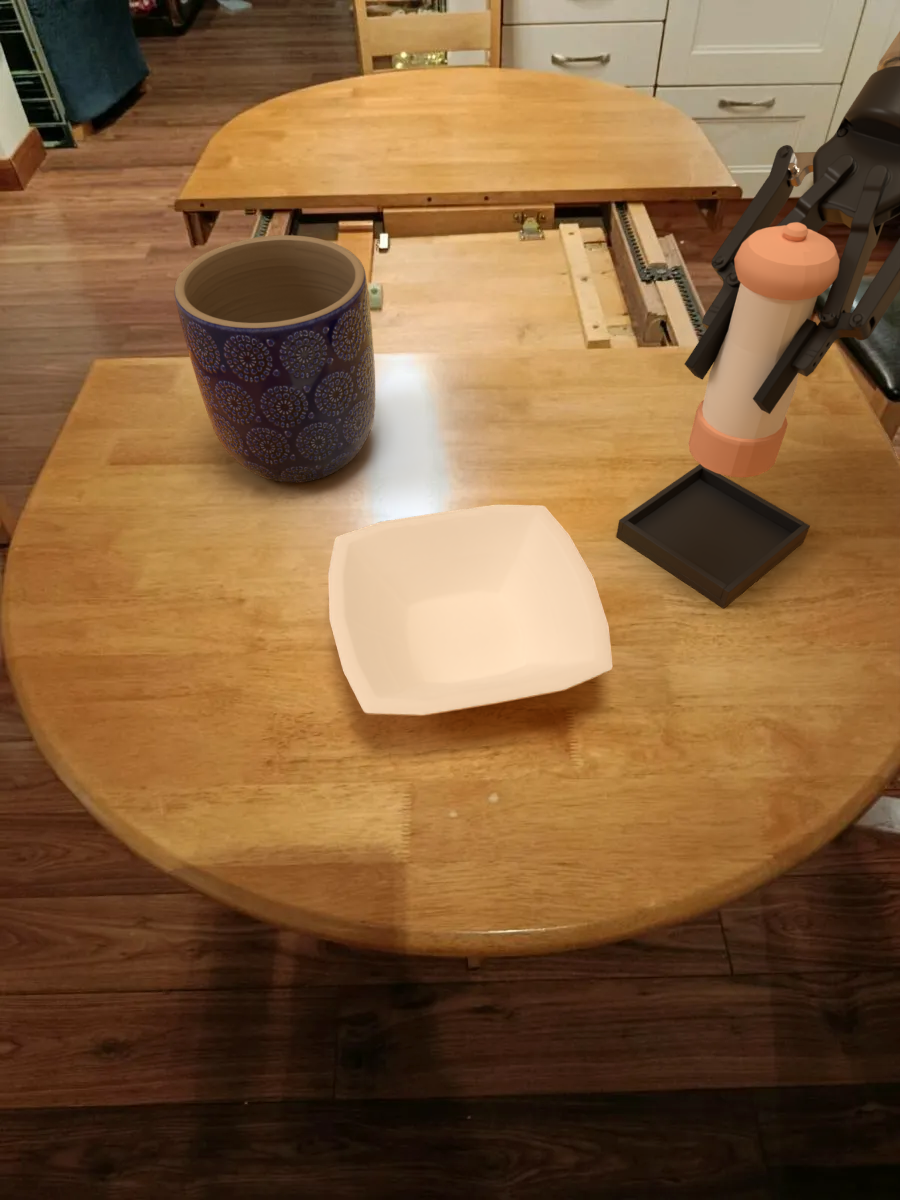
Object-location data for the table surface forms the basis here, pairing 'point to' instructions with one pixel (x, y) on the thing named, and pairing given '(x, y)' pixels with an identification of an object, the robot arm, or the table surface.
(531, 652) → the bowl
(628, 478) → the table surface
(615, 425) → the table surface
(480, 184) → the table surface
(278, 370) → the planter
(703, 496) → the tray
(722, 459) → the pepper shaker
